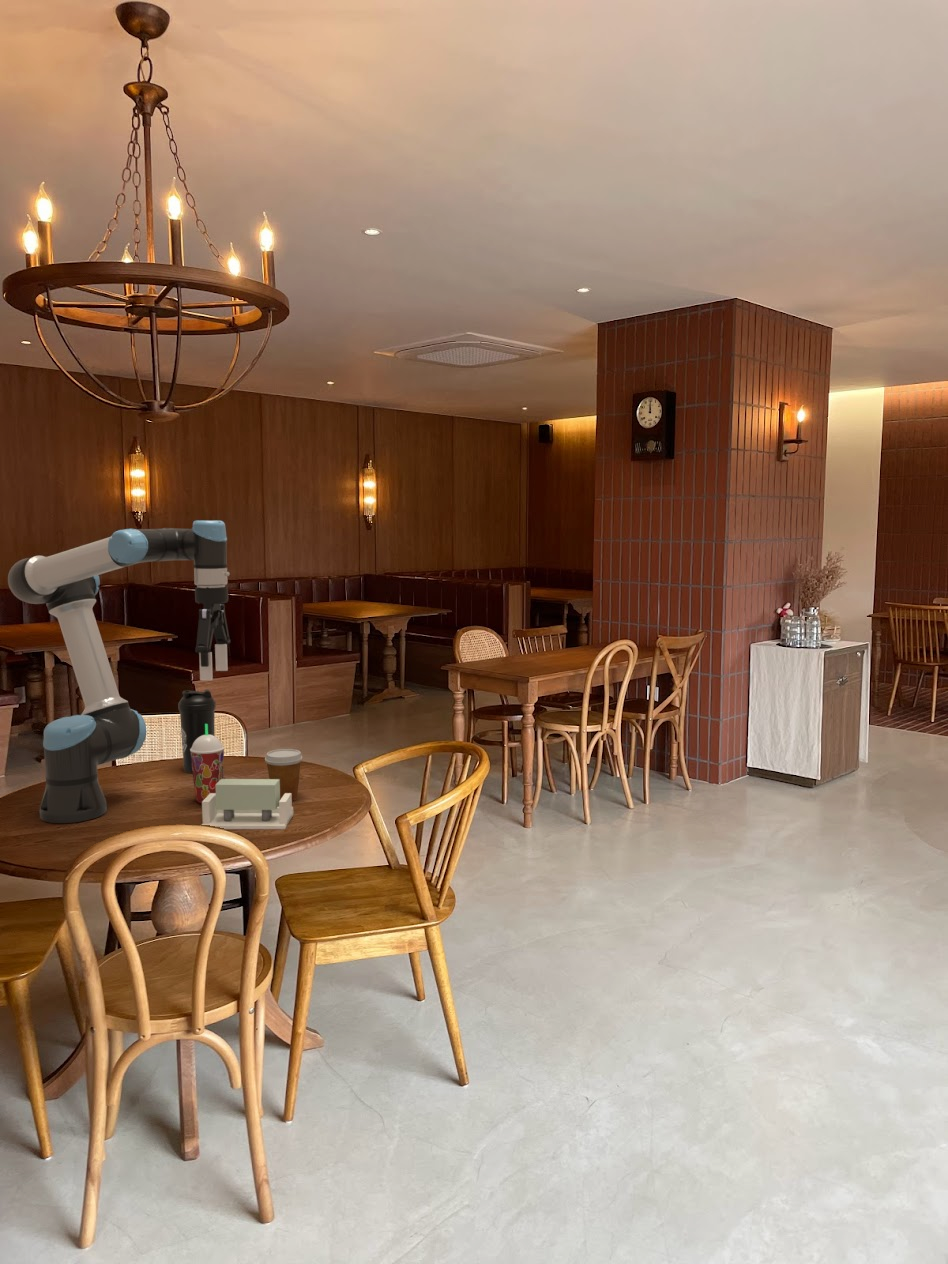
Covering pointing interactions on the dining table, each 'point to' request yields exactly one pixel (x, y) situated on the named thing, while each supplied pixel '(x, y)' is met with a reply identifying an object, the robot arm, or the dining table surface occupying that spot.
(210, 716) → the water bottle
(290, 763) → the disposable coffee cup
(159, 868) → the dining table surface
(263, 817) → the peg cradle
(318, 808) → the dining table surface
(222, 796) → the shelf block
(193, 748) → the smoothie
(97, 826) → the dining table surface
